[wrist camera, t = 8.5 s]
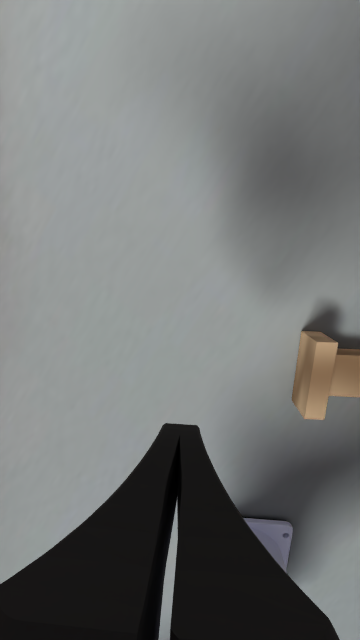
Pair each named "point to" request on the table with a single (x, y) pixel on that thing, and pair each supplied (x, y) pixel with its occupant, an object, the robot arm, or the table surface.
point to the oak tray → (323, 374)
